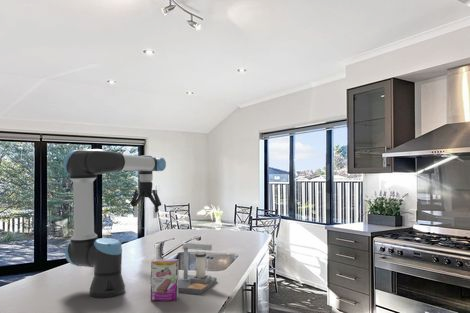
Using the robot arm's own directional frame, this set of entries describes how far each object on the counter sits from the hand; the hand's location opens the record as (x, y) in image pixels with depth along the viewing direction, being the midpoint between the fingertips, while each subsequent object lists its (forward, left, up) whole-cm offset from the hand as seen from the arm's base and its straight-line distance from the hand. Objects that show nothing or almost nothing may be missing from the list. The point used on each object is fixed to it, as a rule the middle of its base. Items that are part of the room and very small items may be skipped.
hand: (145, 217), depth 209 cm
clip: (-25, -45, -11) cm, 53 cm away
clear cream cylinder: (-25, -47, -26) cm, 59 cm away
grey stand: (-27, -44, -28) cm, 59 cm away
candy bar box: (-47, -40, -28) cm, 68 cm away
